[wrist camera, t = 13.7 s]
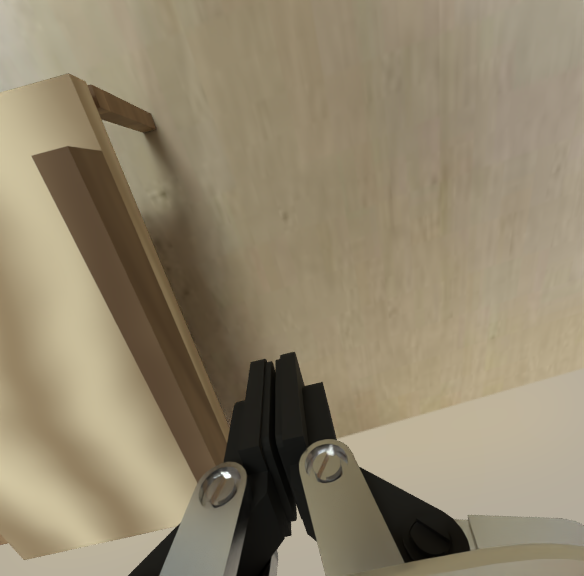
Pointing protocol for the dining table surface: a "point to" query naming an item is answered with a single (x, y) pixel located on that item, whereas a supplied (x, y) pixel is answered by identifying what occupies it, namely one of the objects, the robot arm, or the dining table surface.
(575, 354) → the dining table surface
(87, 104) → the lid
